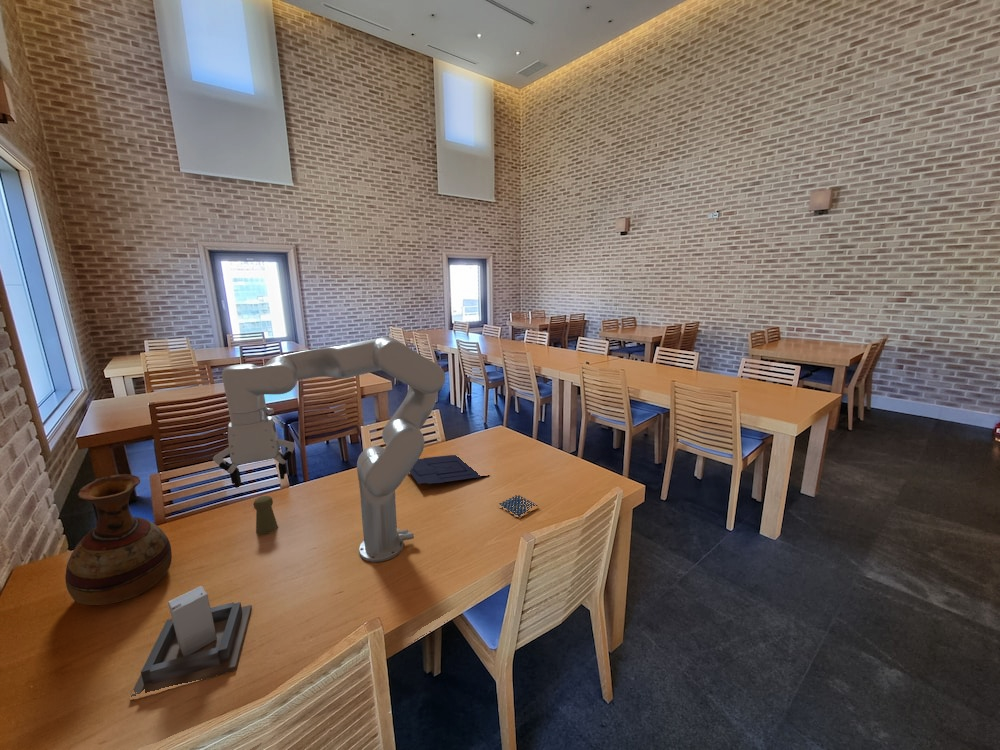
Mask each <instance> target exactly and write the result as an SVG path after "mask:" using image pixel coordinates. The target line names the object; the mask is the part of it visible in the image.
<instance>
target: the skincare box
mask: <svg viewBox="0 0 1000 750" xmlns="http://www.w3.org/2000/svg"><path fill="white" fill-rule="evenodd" d="M167 604H168V609H169V614H170V616H171V619H172V620H173V625H174V629H175V633H176V636H177V640H178V644H179V647H180V649H181V652H182V654H183V657H184V656H187V655H190V654H192V653H194V652H196V651H197V650H199V649H201V648H202V647H204V646H206V645H208V644H209V643H211V642H213V641H215V640H216V639H217V636H216V632H215V627H214V622H213V617H212V613H211V608H212V607H211V604H210V599H209V595H208V593H207V592H206V591H205V589H204V587H203V586H202V585H200V586H197V587H195V588H193V589H192V590H190V591H187V592H186V593H184V594H181V595H179V596H177V597H175V598H173V599H171V600H169V601H167Z"/></svg>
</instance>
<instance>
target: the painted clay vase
mask: <svg viewBox="0 0 1000 750" xmlns="http://www.w3.org/2000/svg"><path fill="white" fill-rule="evenodd" d="M140 483H141V479H140V477H139V476H137V475H134V474H133V475H132V474H127V473H123V474H121V473H117V474H114V475H107V476H106V475H105V476H104V477H100V478H96V479H94V481H92V482H90V483H88V484H86V485H84V486H83V487H82V488H80V489H79V492H78V493H77V496H78V498H79V499H80V500H82V501H85V502H89V503H92V504H91V505H92V507H93V511H94V515H95V518H96V523H95V524H96V525H95V527H94V528H92V529H91V530H90V531H88V532H87V534H85V535H84V536H83V537H82V539H81V540H80V541H79V542H78V543H77V544H76V545H75V548H73V550H72V552H71V554H70V556H69V559H68V561H67V565H66V569H65V577H64V578H65V579H64V580H65V585H66V589H67V592H68V594H69V595H70V597H71V598H72V600H74V602H77V603H78V604H81V605H85V606H86V605H88V606H89V605H90V606H91V605H92V606H98V605H99V606H100V605H101V606H102V605H109V604H113V603H119V602H123V601H126V600H129V599H132V598H135V597H137V596H139V595H141V594H143V593H144V592H147V591H148V590H150V589H151V588H153V586H155V585H156V584H158V582H159V581H161V580H162V579H163V577H164V576H165V575H166V574H167V573H168V571H169V569H170V567H171V565H172V558H173V557H172V556H173V554H172V553H173V552H172V545H171V542H170V540H169V538H168V536H167V535H166V533H165V532H164V531H163V530H162V528H160V527H159V526H158V525H157V524H155V523H153V522H152V521H150V520H148V519H146V518H143V517H137V516H133V515H132V513H131V511H130V506H129V502H130V496H131V495H132V492H133V490H134V489H135V488H136V487H137V486H138V485H140Z"/></svg>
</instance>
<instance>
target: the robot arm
mask: <svg viewBox="0 0 1000 750" xmlns="http://www.w3.org/2000/svg"><path fill="white" fill-rule="evenodd" d="M378 371H379V372H380V371H383V372H384V373H386V374H387V375H389V376H391V377H392V378H394V379H396V380H398V381H399V382H402V383H403V384H405V385H407V386H408V388H407V389H408V390H407V393H406V395H405V398H404V400H403V401H402V402H401V404H400V406H399V407H398V408H397V410H396V411H395V412H394V413H393V415H392V416H391V418H390V419H389V420H388V422H386V424H385V426H384V427H383V429H382V431H381V432H382V433H381V437H382V440H383V442H384V445H385V447H382V446H380V445H379V446H378V445H373V446H368V447H367V448H364V450H363V451H361V453H360V454H359V456H358V459H357V462H356V472H357V478H358V488H359V494H360V495H359V496H360V508H361V519H362V520H361V521H362V533H363V541H362V542H361V543H360V544H359V548H358V554H359V556H360V558H361V559H363V560H364V561H367V562H371V563H381V562H385V561H388V560H391V559H392V558H395V557H397V556H398V555H399V554H400V553H401V552H402V550H403V548H404V541H408V540H413V539H414V537H415V536H414V535H415V534H414V531H411V532H410V531H409V529H408V528H406V529H403V530H400V529H399V528H398V525H397V523H398V522H397V507H396V506H397V505H396V490H397V489H398V488H399V486H400V485H401V484H402V482H403V481H404V480H405V479H406V478H407V476H408V474H409V473H410V470H411V469H412V467H413V466H414V465H415V463H416V462H417V460H418V459H420V457H421V455H422V454H423V451H424V448H425V437H424V434H423V433H422V431H421V429H422V428H423V426H424V424H425V423H426V422H427V420H428V418H429V417H430V416H431V413H432V411H433V410H434V408H435V406H436V403H437V394H438V392H439V391H441V390H442V389H443V387H444V385H445V382H446V374H445V371H444V369H443V368H442V367H441V366H440V365H439V364H438V363H435V362H434V361H432V360H430V359H428V358H427V357H425V356H424V355H421V354H420V353H418V352H416V351H415V350H413V349H412V348H410V347H409V346H407V345H406V344H404V343H403V342H402V341H399V340H397V339H395V338H393V337H390V336H382V337H377V338H372V339H367V340H361V341H357V342H353V343H348V344H342V345H337V346H330V347H324V348H316V349H309V350H302V351H297V352H293V353H292V352H291V353H287V354H283V355H277V356H275V357H272V358H270V359H269V360H267V361H266V363H265V364H264V365H263V366H258V365H256V364H253V363H241V364H240V363H239V364H234V365H228V366H226V367H225V368H224V369H223V370H222V372H221V378H222V383H223V387H224V394H225V398H226V404H227V408H228V414H229V418H230V422H229V423H228V424H227V425H228V426H227V427H228V428H227V440H228V447H226V448H225V449H223V450H221V451H220V452H218V453H217V454H215V455H214V456H213V457H212V461H213V462H214V463H215V464H216V465H217V466H219V468H220V469H222V470H224V471H226V472H227V474H229V476H230V480H231V484H232V485H234V487H235V488H236V489H238V488H240V486H241V484H242V479H241V474H240V469H239V468H238V467H239V465H246V464H251V463H256V462H257V463H258V462H264V461H268V460H275V461H277V462H278V467H277V468H278V471H279V477H280V480H285V475H287V474H288V469H287V463H286V462H287V461H288V459H290V457H291V456H292V454H293V453H294V452H293V451H294V450H295V447H296V443H295V442H294V441H291V440H290V441H289V440H286V439H282V438H279V436H278V435H279V434H278V431H277V428H276V424H275V421H274V419H273V417H272V416H270V415H272V414H275V410H274V408H273V407H271V408H269V407H267V406H268V405H267V404H266V399H265V397H266V396H265V395H284V394H287V393H289V392H291V391H293V390H294V389H295V387H296V386H297V383H298V382H299V381H303V380H308V379H312V378H323V377H325V378H333V379H349V378H354V377H358V376H361V375H362V376H363V375H366V374H370V373H373V372H374V373H375V372H378ZM281 447H283V448H287V450H286V451H285V453H282V452H281V451H280V450H281ZM227 456H229V458H230V461H231V463H230V462H229V461H226V460H224V458H225V457H227Z"/></svg>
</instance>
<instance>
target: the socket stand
mask: <svg viewBox="0 0 1000 750" xmlns="http://www.w3.org/2000/svg"><path fill="white" fill-rule="evenodd" d="M210 608H211V613H212V617H213V622H214V627H215V632H216V636H217V639H216V640H215V641H213V642H211V643H209V644H208V645H206V646H204V647H202V648H201V649H199V650H197V651H196V652H194V653H192V654H190V655H187V656H184V657H183V654H182V652H181V649H180V647H179V644H178V640H177V636H176V633H175V629H174V625H173V620H172V618H169V619H166V620H165V623H164V625H163V626H162V628H161V631H160V633H159V635H158V636H157V639H156V641H155V642H154V645H153V647H152V650H151V651H150V653H149V655H148V657H147V659H146V661H145V663H144V665H143V667H142V669H141V671H140V675H139V677H138V679H137V681H136V682H135V685H134V687H133V689H132V691H133V690H134V692H135V694H132V695H131V694H130V695H131V697H132V696H136V694H140V693H141V692H142V691H143V690H144V689H145V693H147V692H150V691H155V690H159V689H161V688H165V687H169V686H173V685H178V684H182V683H188V682H192V681H196V680H201V679H204V680H207V679H206V678H208V679H210V678H209V677H211V678H214V677H217V676H216V675H218V676H220V674H221V675H223V673H224V674H228V673H231V672H234V671H237V668H238V665H239V664H238V663H239V660H240V656H241V651H242V648H243V644H244V641H245V637H246V636H245V635H246V633H247V629H248V624H249V621H250V616H251V614H252V613H251V612H252V610H253V606H252V604H249V605H244V606H242V602H241V601H239V602H235V603H234V602H232V601H231V602H229V603H225V604H221V605H220V604H219V605H217V606H212V607H210ZM230 671H231V672H230ZM227 672H228V673H227ZM213 676H214V677H213ZM201 681H202V680H201ZM136 692H137V693H136Z"/></svg>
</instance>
